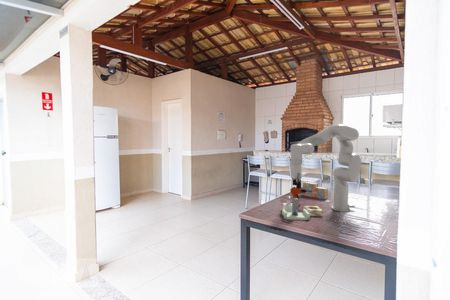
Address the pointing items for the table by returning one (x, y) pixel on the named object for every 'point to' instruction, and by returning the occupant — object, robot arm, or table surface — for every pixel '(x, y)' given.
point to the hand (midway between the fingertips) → (296, 186)
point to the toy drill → (297, 192)
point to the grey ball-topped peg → (288, 200)
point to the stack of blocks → (315, 190)
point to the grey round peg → (295, 206)
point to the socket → (314, 210)
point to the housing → (287, 207)
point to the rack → (301, 216)
